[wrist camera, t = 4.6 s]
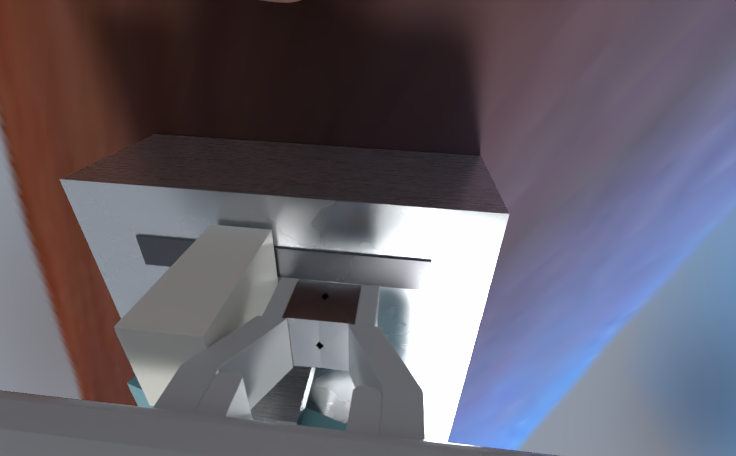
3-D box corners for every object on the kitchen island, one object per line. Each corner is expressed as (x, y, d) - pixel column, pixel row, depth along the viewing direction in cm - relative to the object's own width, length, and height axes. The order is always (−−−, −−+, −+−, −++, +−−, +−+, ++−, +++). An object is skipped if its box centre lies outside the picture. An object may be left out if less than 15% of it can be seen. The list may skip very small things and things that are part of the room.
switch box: (155, 133, 16) (-60, 235, 9) (480, 155, 15) (547, 291, 8) (234, 423, 27) (171, 571, 20) (421, 446, 26) (425, 610, 19)
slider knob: (210, 224, 11) (113, 327, 8) (271, 229, 11) (202, 336, 8) (225, 291, 13) (149, 405, 9) (279, 296, 13) (225, 414, 9)
